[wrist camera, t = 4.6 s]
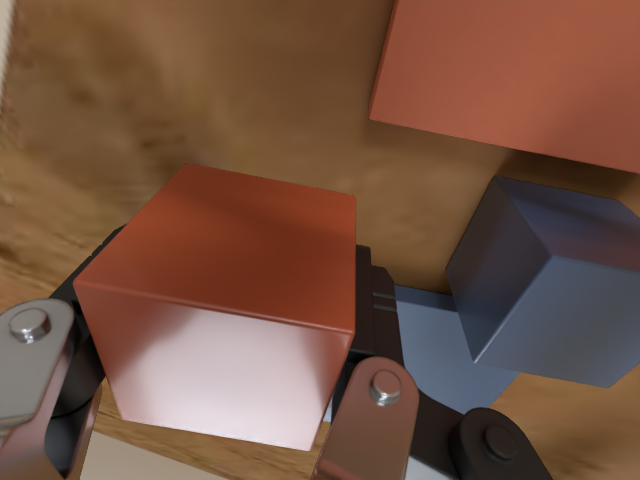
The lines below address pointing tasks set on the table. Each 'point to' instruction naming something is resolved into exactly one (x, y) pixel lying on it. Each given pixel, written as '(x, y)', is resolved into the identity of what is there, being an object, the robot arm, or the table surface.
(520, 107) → the terracotta mat
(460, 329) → the slate mat
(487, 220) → the slate block
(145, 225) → the terracotta block
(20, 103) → the table surface
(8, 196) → the table surface
